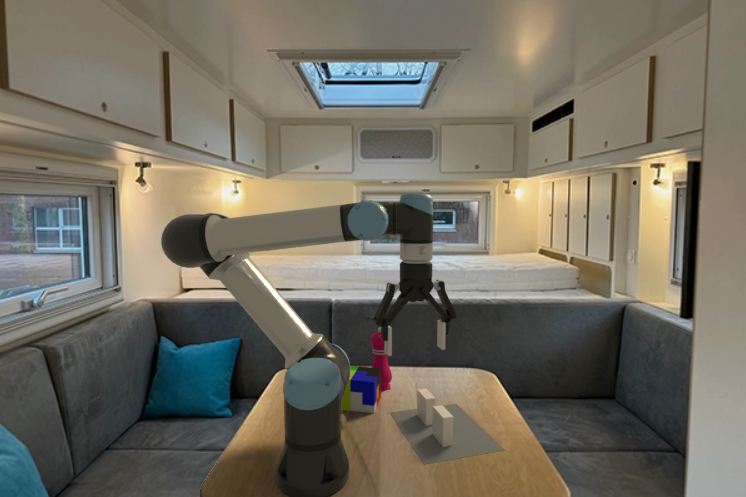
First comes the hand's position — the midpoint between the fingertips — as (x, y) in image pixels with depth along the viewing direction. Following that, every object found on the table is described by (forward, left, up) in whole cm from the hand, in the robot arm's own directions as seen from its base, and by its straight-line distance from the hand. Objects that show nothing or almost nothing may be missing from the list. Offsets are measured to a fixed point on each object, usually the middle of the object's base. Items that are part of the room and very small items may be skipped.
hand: (415, 351), depth 98 cm
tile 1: (+10, -2, -22) cm, 24 cm away
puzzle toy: (+16, +16, -23) cm, 33 cm away
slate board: (+5, -7, -23) cm, 24 cm away
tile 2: (+1, -7, -22) cm, 23 cm away
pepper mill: (+28, +12, -23) cm, 39 cm away
